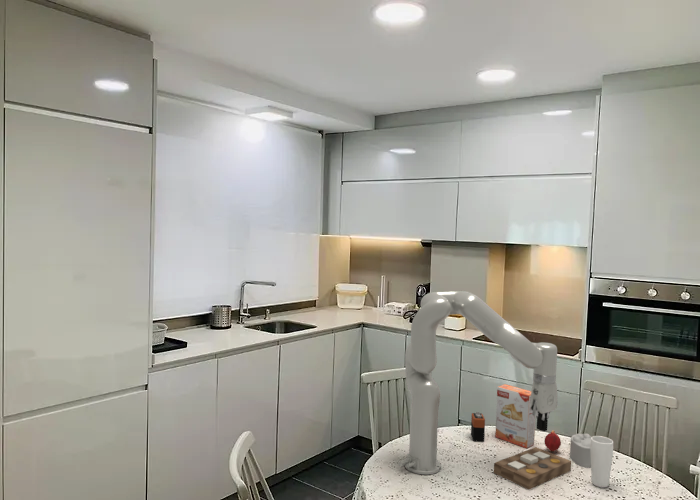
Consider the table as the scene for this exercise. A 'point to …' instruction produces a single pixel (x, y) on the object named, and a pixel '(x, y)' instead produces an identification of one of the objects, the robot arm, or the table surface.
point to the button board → (533, 469)
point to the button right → (541, 455)
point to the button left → (516, 465)
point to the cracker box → (514, 416)
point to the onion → (552, 441)
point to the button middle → (529, 459)
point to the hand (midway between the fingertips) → (541, 429)
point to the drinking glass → (601, 460)
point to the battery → (477, 427)
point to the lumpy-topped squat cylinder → (581, 450)
